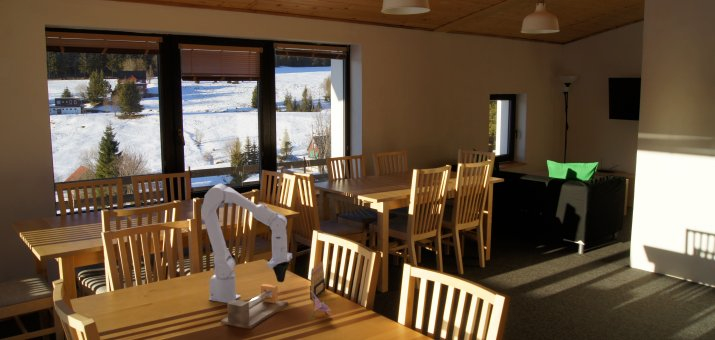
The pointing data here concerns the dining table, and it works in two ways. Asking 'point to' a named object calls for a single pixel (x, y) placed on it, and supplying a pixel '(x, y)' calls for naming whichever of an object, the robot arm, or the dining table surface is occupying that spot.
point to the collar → (274, 292)
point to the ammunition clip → (317, 281)
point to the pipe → (260, 298)
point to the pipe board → (250, 313)
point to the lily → (319, 305)
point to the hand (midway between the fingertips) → (280, 281)
